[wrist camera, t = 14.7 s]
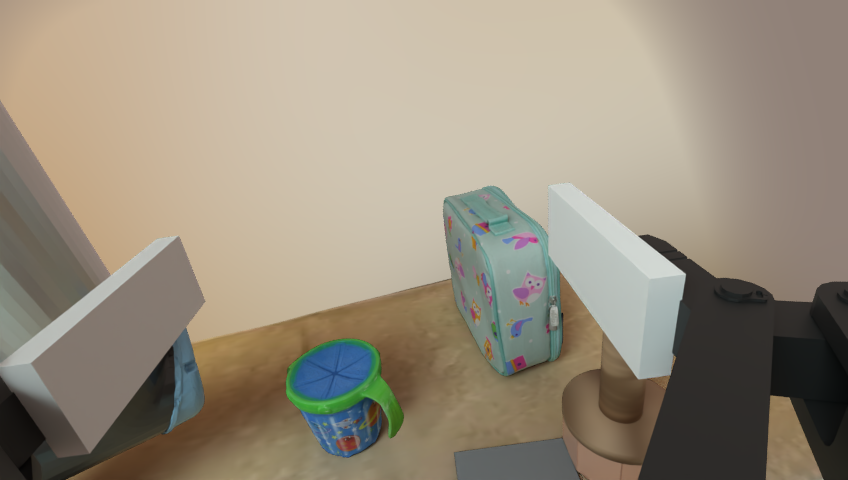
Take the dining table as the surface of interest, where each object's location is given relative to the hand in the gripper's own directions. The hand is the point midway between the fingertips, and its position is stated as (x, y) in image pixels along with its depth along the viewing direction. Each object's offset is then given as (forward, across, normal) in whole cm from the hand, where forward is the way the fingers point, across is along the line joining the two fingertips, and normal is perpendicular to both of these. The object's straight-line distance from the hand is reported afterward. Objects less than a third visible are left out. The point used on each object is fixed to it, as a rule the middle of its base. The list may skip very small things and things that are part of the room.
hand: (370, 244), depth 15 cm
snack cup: (+24, -10, -35) cm, 44 cm away
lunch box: (+40, +12, -35) cm, 54 cm away
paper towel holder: (+17, +19, -30) cm, 39 cm away
